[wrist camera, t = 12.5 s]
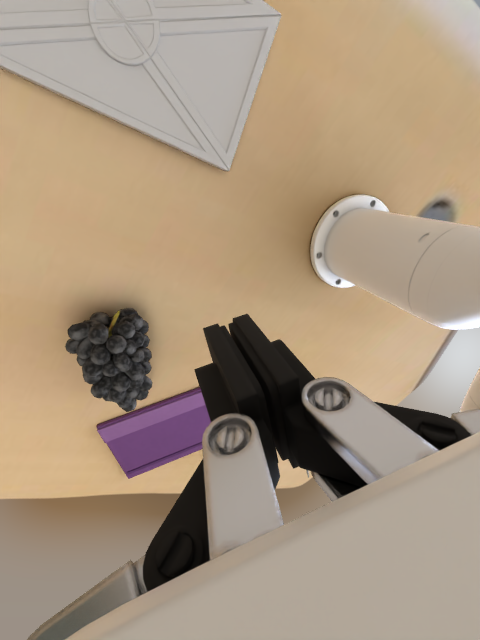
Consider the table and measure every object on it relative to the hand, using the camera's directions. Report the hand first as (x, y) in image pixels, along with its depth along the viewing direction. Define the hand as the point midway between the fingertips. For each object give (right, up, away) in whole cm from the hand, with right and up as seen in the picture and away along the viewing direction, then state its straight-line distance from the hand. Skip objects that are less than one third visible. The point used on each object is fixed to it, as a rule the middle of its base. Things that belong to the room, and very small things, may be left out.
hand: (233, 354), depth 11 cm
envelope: (-10, +26, +15) cm, 32 cm away
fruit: (-16, -3, +28) cm, 32 cm away
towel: (-9, -15, +36) cm, 40 cm away
